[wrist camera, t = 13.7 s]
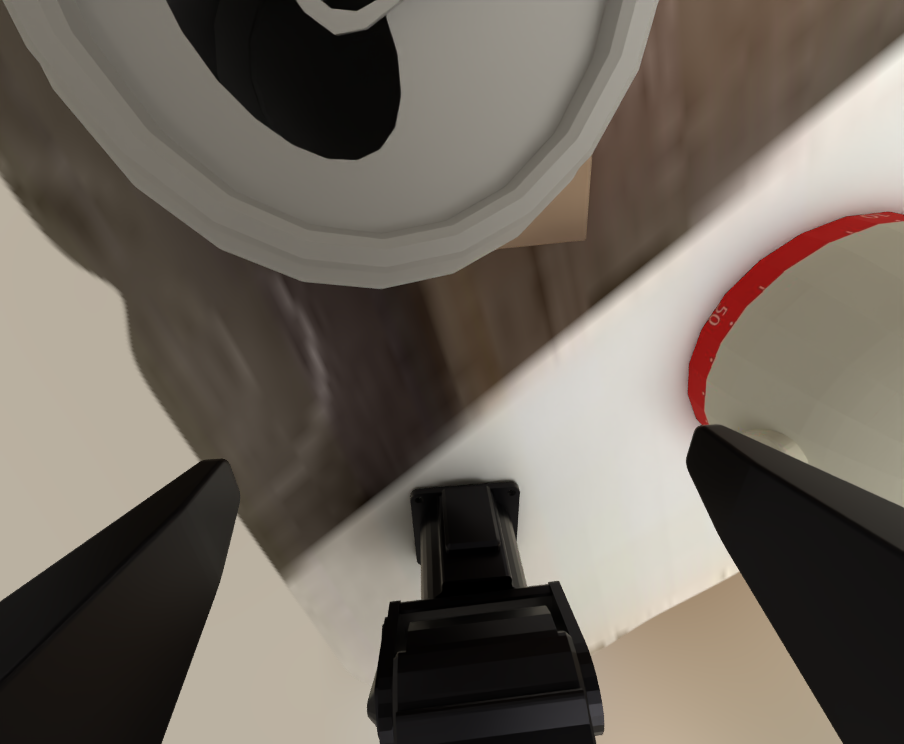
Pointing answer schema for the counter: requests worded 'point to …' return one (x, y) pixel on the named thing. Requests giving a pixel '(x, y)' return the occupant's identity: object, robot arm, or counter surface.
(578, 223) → the brown flat square block
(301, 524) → the counter surface
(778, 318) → the kitchen timer
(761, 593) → the robot arm
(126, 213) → the counter surface
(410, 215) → the can
